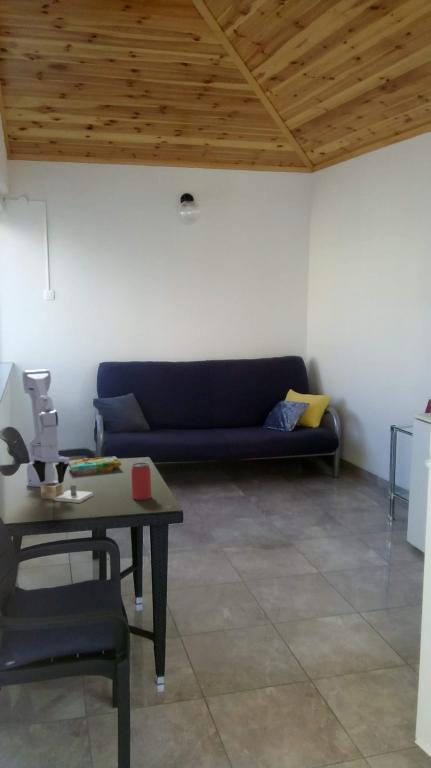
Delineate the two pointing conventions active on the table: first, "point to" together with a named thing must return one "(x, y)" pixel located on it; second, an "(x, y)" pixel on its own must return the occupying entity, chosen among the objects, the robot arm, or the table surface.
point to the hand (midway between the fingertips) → (51, 482)
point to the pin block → (73, 495)
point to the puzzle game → (93, 465)
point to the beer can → (141, 481)
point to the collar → (51, 490)
